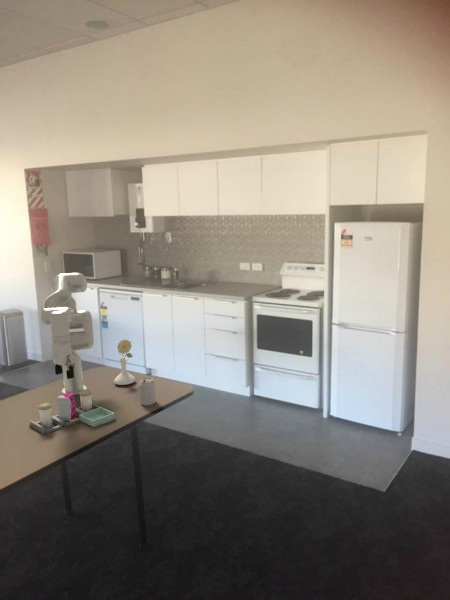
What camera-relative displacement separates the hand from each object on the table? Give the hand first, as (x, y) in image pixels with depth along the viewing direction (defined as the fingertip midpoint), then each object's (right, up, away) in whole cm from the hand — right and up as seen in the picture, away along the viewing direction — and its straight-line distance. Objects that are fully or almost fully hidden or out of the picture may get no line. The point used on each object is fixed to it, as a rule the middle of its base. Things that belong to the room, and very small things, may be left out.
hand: (64, 376), depth 224 cm
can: (+34, -16, +19) cm, 43 cm away
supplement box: (0, -20, +4) cm, 21 cm away
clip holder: (0, -20, +4) cm, 21 cm away
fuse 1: (-7, -22, -3) cm, 23 cm away
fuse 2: (+7, -19, +11) cm, 23 cm away
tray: (+14, -20, +2) cm, 24 cm away
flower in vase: (+18, -12, +48) cm, 52 cm away
